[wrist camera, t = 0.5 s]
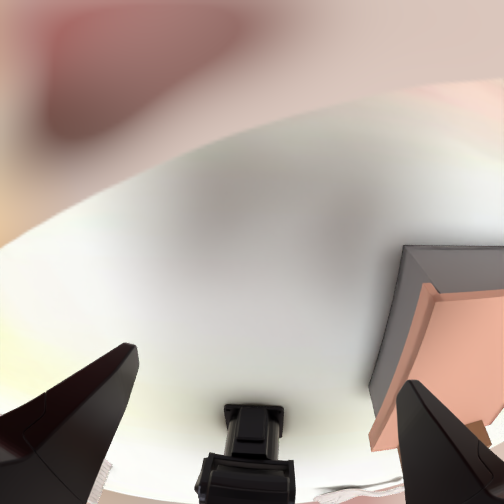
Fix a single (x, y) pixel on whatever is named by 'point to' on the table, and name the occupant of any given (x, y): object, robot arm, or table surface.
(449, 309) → the lid
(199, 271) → the table surface
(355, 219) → the table surface
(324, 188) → the table surface
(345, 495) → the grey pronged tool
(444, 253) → the base
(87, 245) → the table surface
